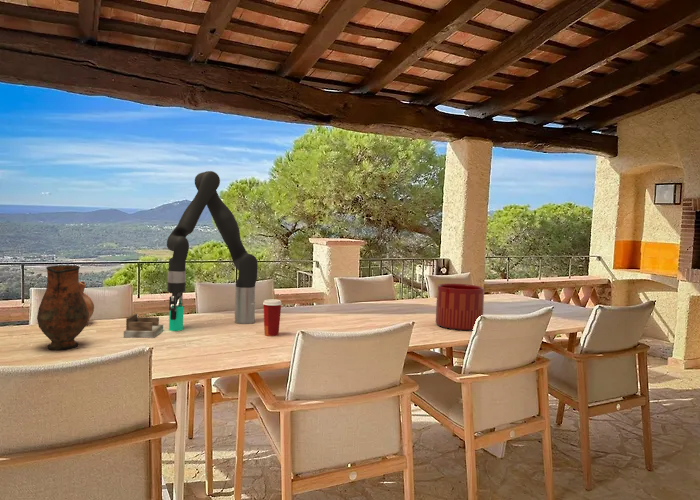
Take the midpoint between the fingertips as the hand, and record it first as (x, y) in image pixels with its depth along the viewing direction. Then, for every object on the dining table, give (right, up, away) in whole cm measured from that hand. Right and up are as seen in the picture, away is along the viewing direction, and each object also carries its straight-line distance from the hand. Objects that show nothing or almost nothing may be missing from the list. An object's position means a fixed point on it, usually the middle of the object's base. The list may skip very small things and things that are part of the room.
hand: (175, 317), depth 220 cm
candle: (0, -5, 0) cm, 5 cm away
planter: (+131, -9, +31) cm, 135 cm away
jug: (-47, -4, +2) cm, 48 cm away
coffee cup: (+43, -7, -3) cm, 43 cm away
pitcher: (-31, -6, -32) cm, 45 cm away
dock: (-10, -5, -10) cm, 15 cm away
